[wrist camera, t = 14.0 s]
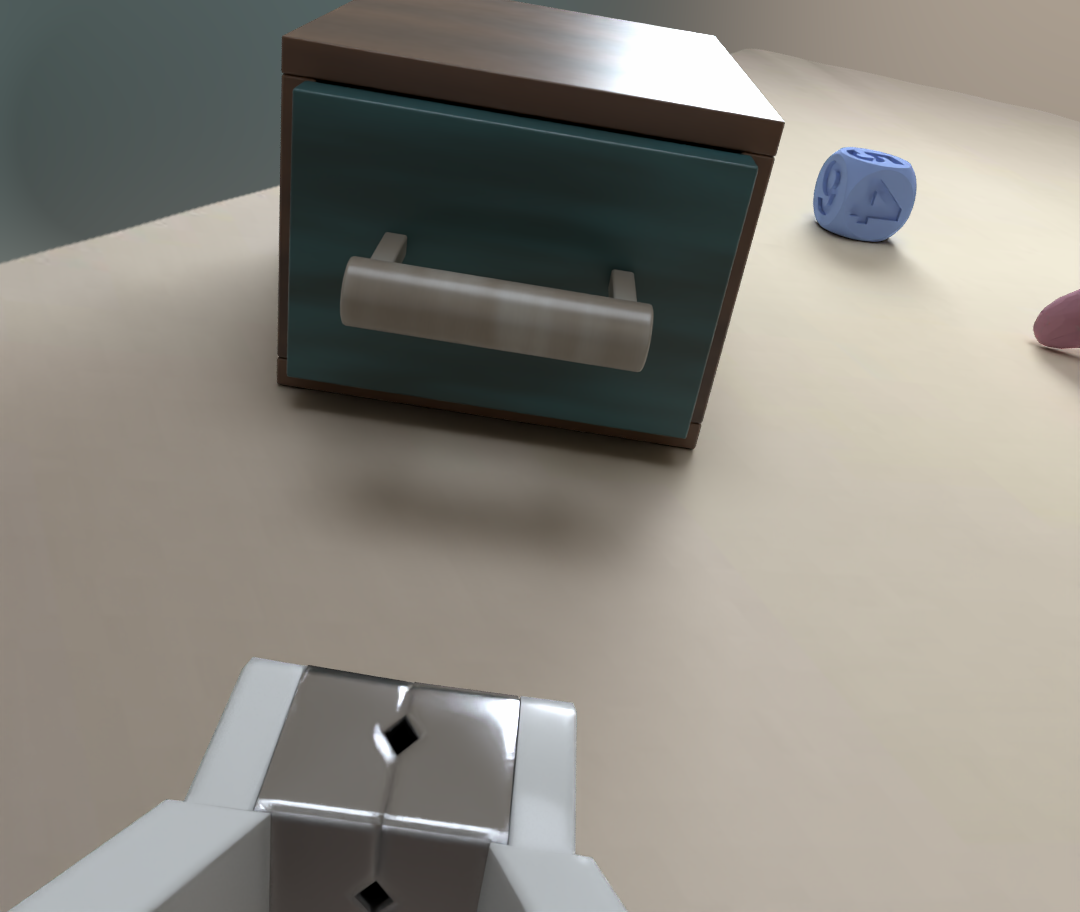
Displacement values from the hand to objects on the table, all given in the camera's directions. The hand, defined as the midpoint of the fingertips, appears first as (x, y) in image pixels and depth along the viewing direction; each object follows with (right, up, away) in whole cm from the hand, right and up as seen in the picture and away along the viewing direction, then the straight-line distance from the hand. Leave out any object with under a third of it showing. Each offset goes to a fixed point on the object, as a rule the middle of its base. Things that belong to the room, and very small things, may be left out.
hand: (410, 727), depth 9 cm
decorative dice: (+19, +15, +45) cm, 51 cm away
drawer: (0, +7, +23) cm, 24 cm away
